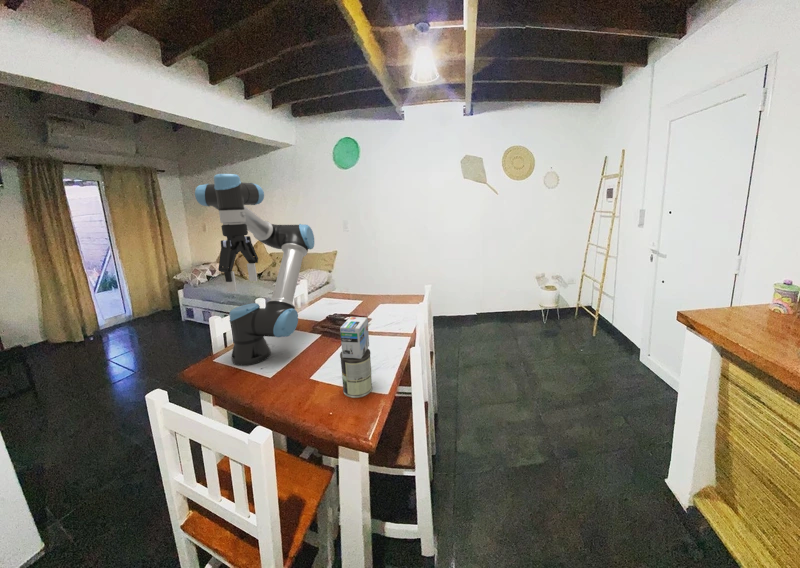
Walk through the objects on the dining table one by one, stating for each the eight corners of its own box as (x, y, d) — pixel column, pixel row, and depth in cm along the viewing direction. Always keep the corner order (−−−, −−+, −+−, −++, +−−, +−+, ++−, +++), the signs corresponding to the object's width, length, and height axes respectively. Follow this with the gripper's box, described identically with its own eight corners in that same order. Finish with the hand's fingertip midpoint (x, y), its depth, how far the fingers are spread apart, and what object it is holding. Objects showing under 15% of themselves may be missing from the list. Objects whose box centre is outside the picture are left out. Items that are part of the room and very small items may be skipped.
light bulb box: (361, 359, 102) (359, 328, 99) (341, 358, 103) (339, 327, 101) (369, 345, 112) (368, 316, 110) (351, 344, 113) (349, 316, 111)
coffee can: (336, 392, 109) (333, 355, 105) (356, 378, 117) (354, 343, 114) (358, 401, 103) (356, 363, 100) (378, 386, 111) (376, 350, 108)
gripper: (222, 226, 91) (233, 295, 96) (263, 221, 115) (270, 277, 120) (197, 226, 91) (210, 296, 97) (243, 221, 116) (251, 277, 121)
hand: (243, 285), depth 109 cm, fingers open, 13 cm apart
